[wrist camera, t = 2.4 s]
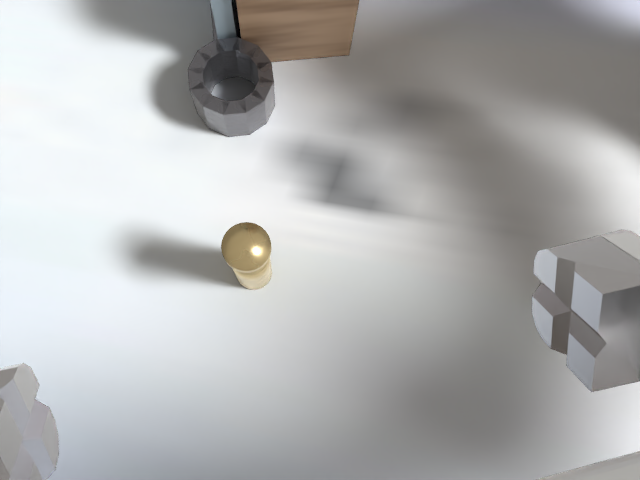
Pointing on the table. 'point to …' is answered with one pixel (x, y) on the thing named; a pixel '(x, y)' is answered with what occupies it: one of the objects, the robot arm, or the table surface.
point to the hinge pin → (248, 254)
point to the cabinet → (298, 27)
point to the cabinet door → (224, 18)
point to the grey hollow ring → (230, 62)
